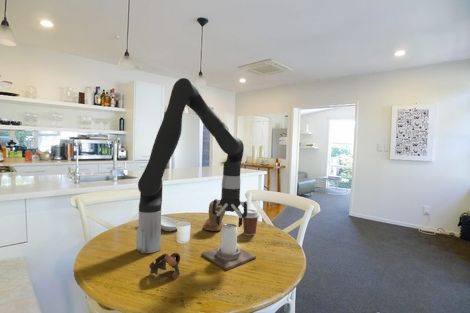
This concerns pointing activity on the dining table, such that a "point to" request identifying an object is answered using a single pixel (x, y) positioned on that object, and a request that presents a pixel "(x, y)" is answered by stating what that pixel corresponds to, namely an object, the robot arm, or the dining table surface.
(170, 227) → the spoon rest
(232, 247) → the can
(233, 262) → the collar board
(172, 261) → the brown arched figurine
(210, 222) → the brown boot vase
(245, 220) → the coffee cup
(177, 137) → the robot arm
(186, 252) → the dining table surface
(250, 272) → the dining table surface
